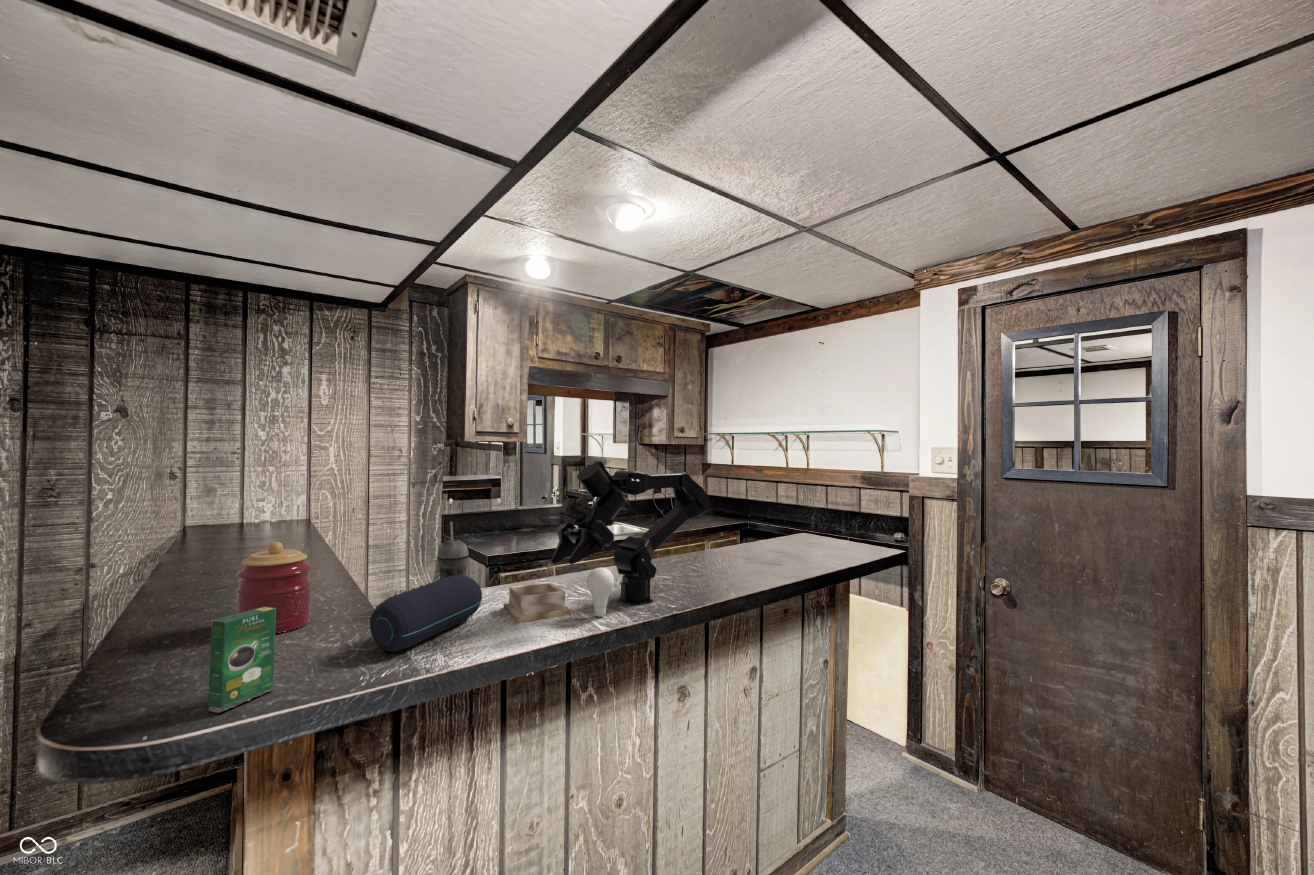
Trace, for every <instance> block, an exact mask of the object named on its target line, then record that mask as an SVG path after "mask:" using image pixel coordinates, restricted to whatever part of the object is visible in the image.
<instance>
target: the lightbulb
mask: <svg viewBox="0 0 1314 875" xmlns="http://www.w3.org/2000/svg"><path fill="white" fill-rule="evenodd" d="M586 585H587V586H586V587H587V588H588V590H589V593H590V595H591V597H592V604H593V610H594V613H593V614H594V615H595V616H597V618H603V616H605V615H606V614H607V613H606V612H607V605H608V599H609V595H610V594H611V592H612V589H613V587H614V585H615V578H614V575H613V573H612V572H611V571H610V570H609V569H608V568H605V567H596V568H593V569H592V570H591V571H590V572H589V574H587V578H586Z"/></svg>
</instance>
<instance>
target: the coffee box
mask: <svg viewBox="0 0 1314 875" xmlns="http://www.w3.org/2000/svg"><path fill="white" fill-rule="evenodd" d="M275 620H276V608H272V607H260V608H257V609H253V610H249V611H246V612H242V613H238V614H236V613H235V614H232V615H228V616H227V615H226V616H224V617H221V618H215V619H212V620H211V636H210V637H211V638H210V659H209V680H208V681H209V682H208V706H209V707H216V708H224V707H227V706H229V705H232V704H234V703H236V702H239V701H241V700H243V699H246V698H248V697H251V696H254V695H256V694H258V693H261V692H264V691H265V690H269V689H271V688H273V689H274V680H275V676H274V671H275V670H274V668H275V645H276V644H275V643H276V641H275V640H276V634H275Z"/></svg>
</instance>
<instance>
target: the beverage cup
mask: <svg viewBox="0 0 1314 875" xmlns="http://www.w3.org/2000/svg"><path fill="white" fill-rule="evenodd" d="M449 522H450V523H449V524H450V525H449V526H450V539H448V540H446V541H444V542H443V543H442V544H441V545H440V547H439V549H438V551H437V556H436V560H437V565H438V569H439V570H438V571H439V572H438V573H439V580H441V579H444V578H447V577H449V576H467V574H466V573H467V566H468V562H469V558H470V553H469V550H468V547H467V545H466V543H465V542H463V541H462V540H460V539H458V538H457V539H454V531H453V529H454V528H453V526H454V525H453V521H449Z"/></svg>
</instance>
